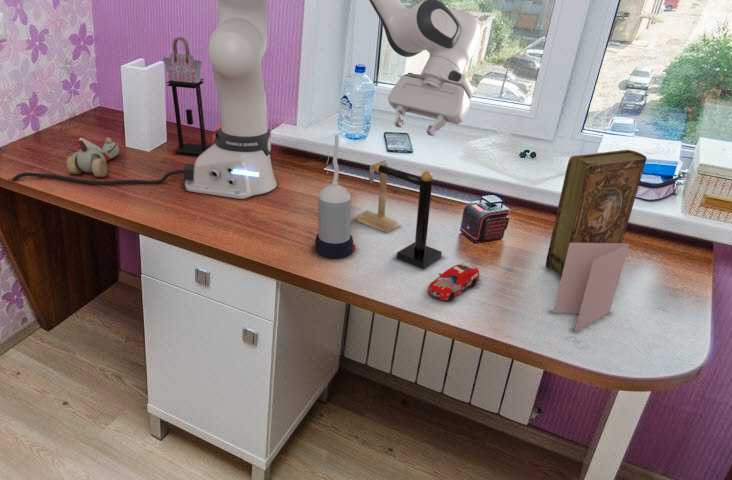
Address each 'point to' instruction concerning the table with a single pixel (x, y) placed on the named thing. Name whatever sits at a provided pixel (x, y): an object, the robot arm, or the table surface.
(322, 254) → the humidifier
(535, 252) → the table surface
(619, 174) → the book
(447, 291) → the race car
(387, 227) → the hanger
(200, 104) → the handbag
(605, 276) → the greeting card
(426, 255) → the stand
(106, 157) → the toy dog
